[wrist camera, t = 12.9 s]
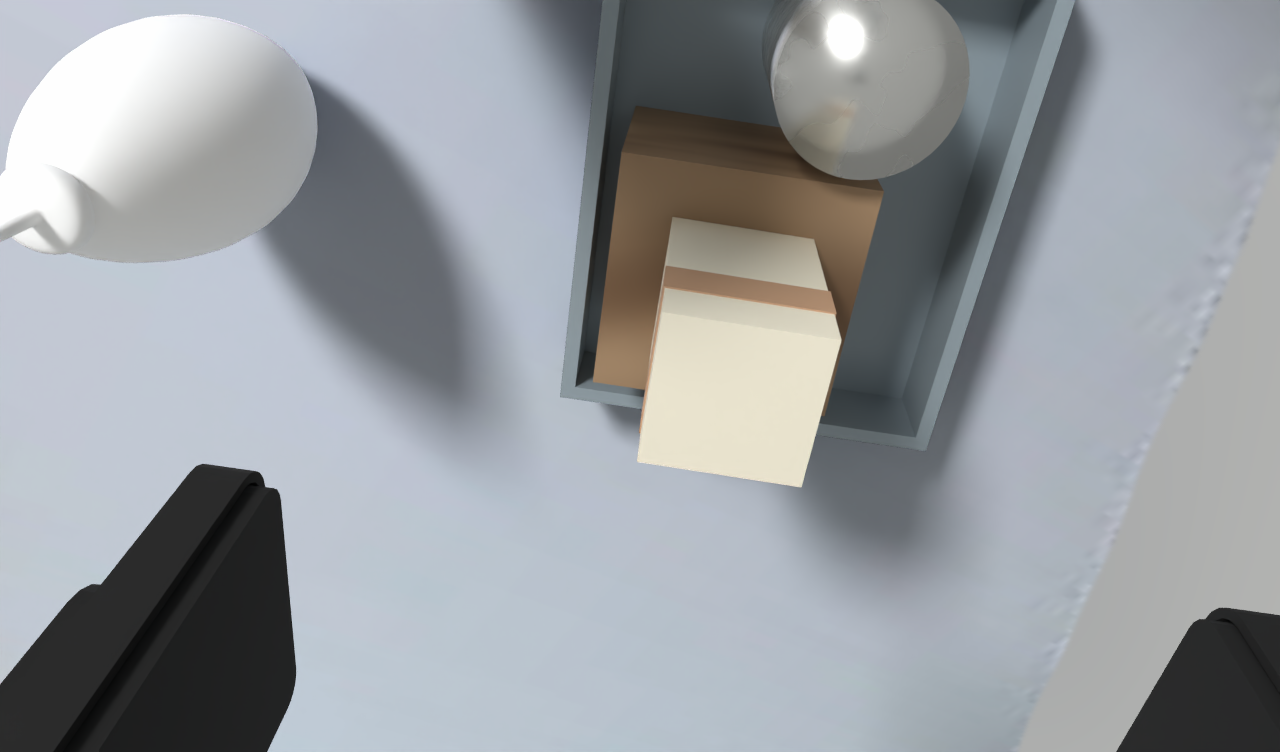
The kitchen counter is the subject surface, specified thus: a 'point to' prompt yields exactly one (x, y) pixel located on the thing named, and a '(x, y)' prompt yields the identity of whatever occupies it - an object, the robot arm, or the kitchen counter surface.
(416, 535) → the kitchen counter surface
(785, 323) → the oat carton
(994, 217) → the grey shallow tray
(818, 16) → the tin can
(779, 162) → the walnut block
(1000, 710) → the kitchen counter surface
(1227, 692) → the robot arm
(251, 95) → the sauce bottle
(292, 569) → the kitchen counter surface
